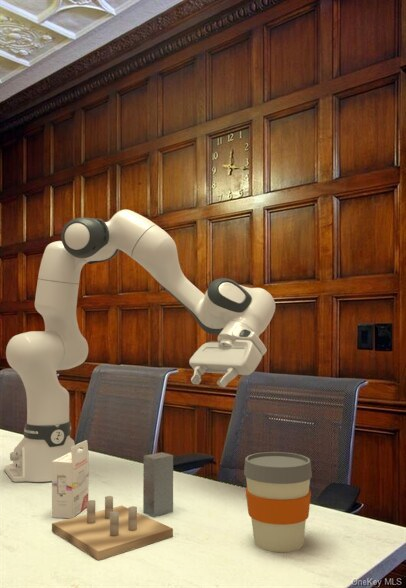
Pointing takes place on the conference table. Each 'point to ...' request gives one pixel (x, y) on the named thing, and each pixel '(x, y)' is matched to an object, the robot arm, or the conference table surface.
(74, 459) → the ink cartridge box
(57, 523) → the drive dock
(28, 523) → the conference table surface
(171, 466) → the plate
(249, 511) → the reusable coffee cup
